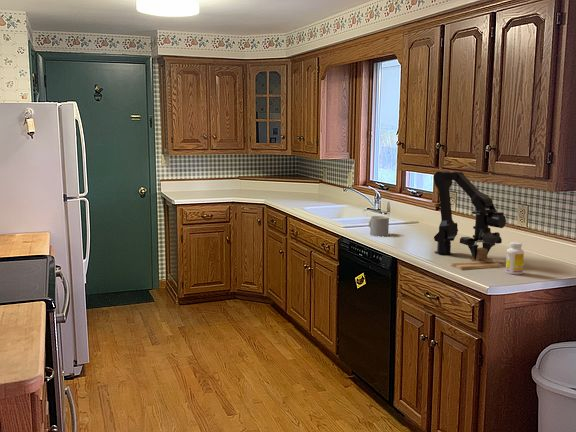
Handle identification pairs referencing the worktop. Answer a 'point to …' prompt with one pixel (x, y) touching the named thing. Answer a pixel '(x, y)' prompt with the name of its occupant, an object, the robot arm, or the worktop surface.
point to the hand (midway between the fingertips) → (479, 258)
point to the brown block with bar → (482, 255)
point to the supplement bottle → (514, 259)
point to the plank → (475, 265)
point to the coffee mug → (379, 226)
